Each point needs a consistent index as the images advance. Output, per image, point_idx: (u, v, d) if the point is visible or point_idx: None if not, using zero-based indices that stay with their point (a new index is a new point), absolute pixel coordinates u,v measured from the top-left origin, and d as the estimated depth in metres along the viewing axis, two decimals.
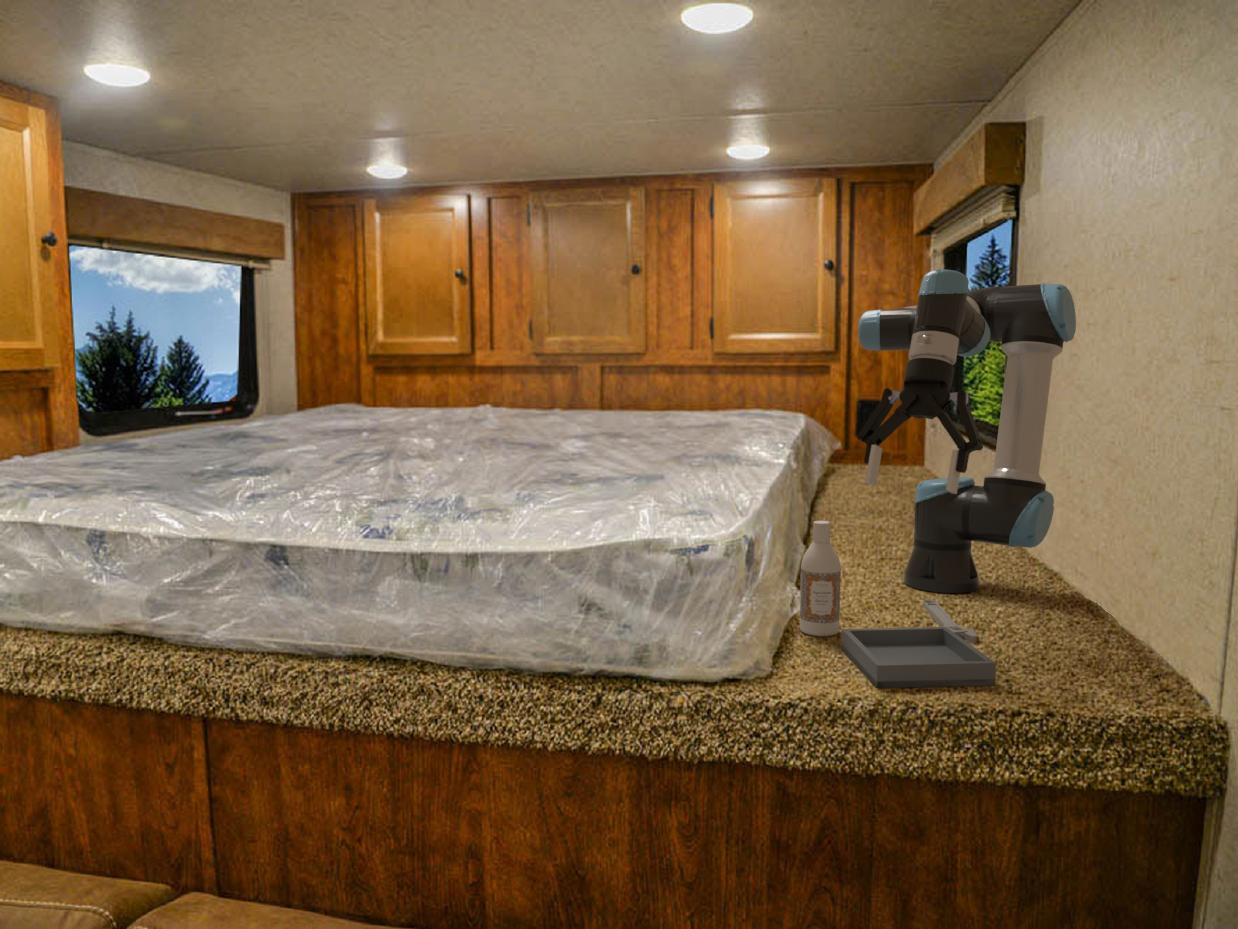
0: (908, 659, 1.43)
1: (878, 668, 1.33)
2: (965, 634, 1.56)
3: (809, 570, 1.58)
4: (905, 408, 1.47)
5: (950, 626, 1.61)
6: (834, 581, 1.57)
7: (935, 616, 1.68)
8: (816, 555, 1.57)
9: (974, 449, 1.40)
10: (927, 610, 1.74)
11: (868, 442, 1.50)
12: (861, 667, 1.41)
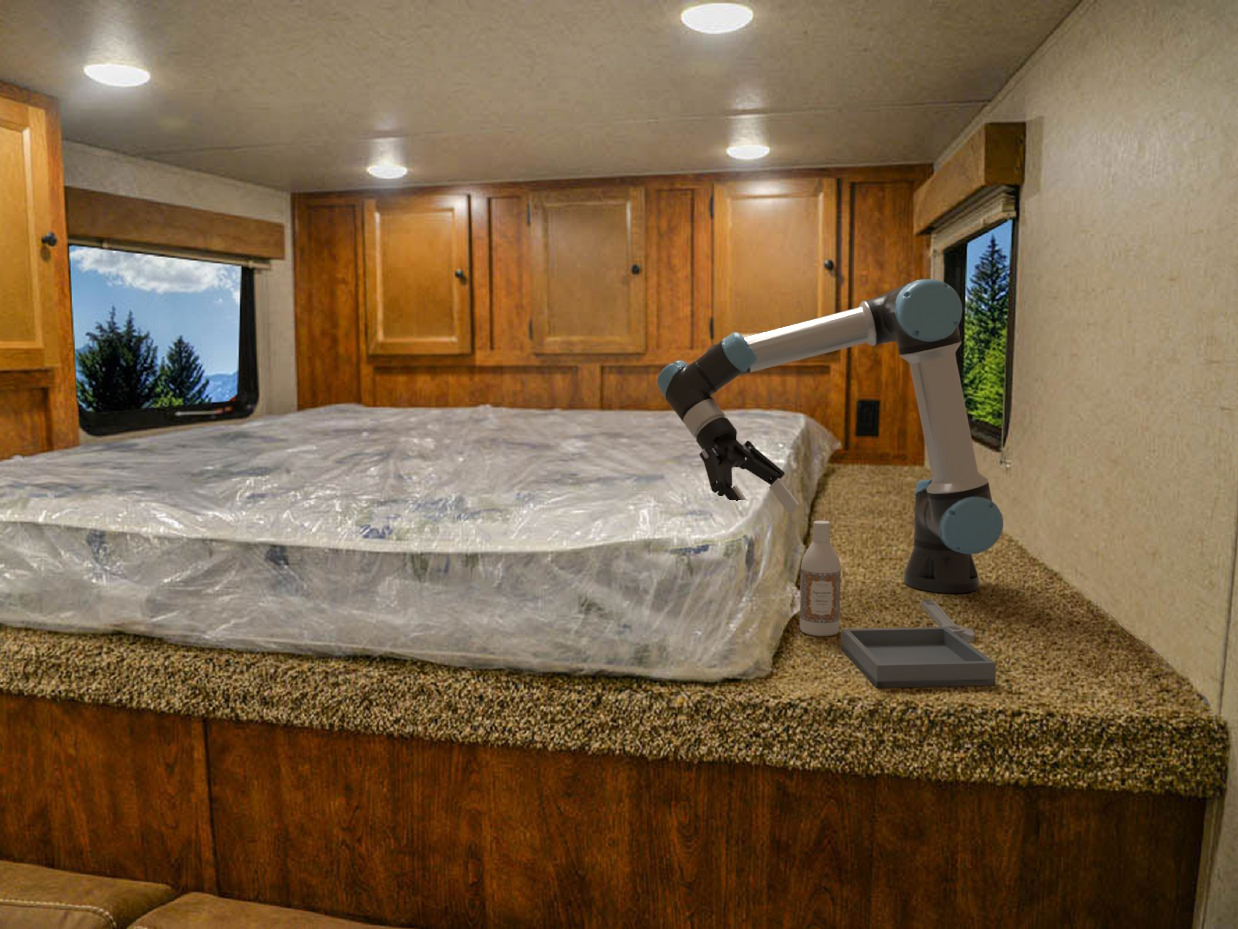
0: (908, 659, 1.43)
1: (878, 668, 1.33)
2: (963, 633, 1.56)
3: (809, 570, 1.58)
4: None
5: (948, 625, 1.61)
6: (834, 581, 1.57)
7: (933, 615, 1.68)
8: (816, 554, 1.57)
9: (721, 488, 1.63)
10: (925, 609, 1.74)
11: None
12: (861, 667, 1.41)
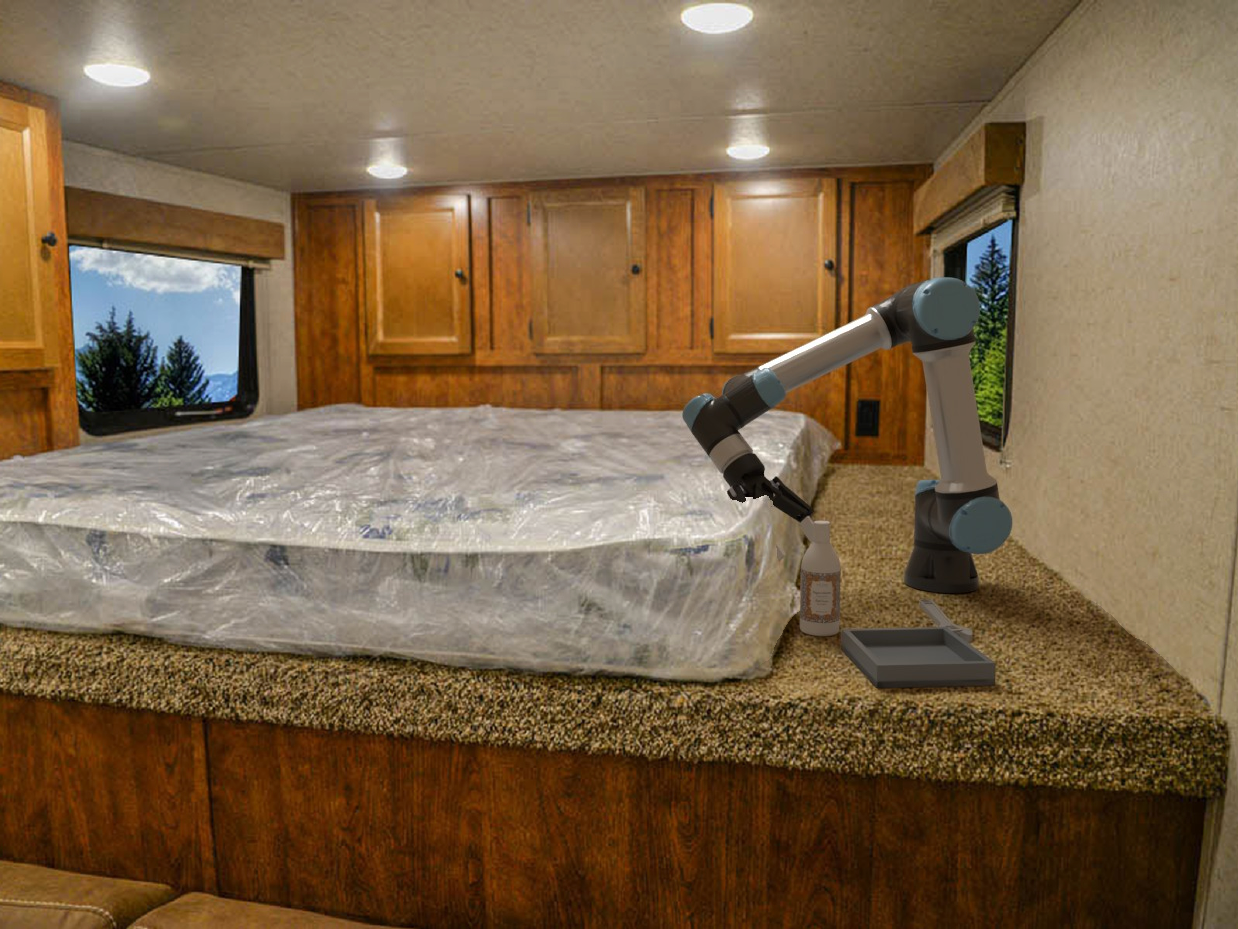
0: (908, 659, 1.43)
1: (878, 668, 1.33)
2: (961, 633, 1.57)
3: (809, 570, 1.58)
4: None
5: (946, 625, 1.61)
6: (834, 581, 1.57)
7: (931, 615, 1.68)
8: (816, 554, 1.57)
9: None
10: (923, 609, 1.74)
11: None
12: (861, 667, 1.41)
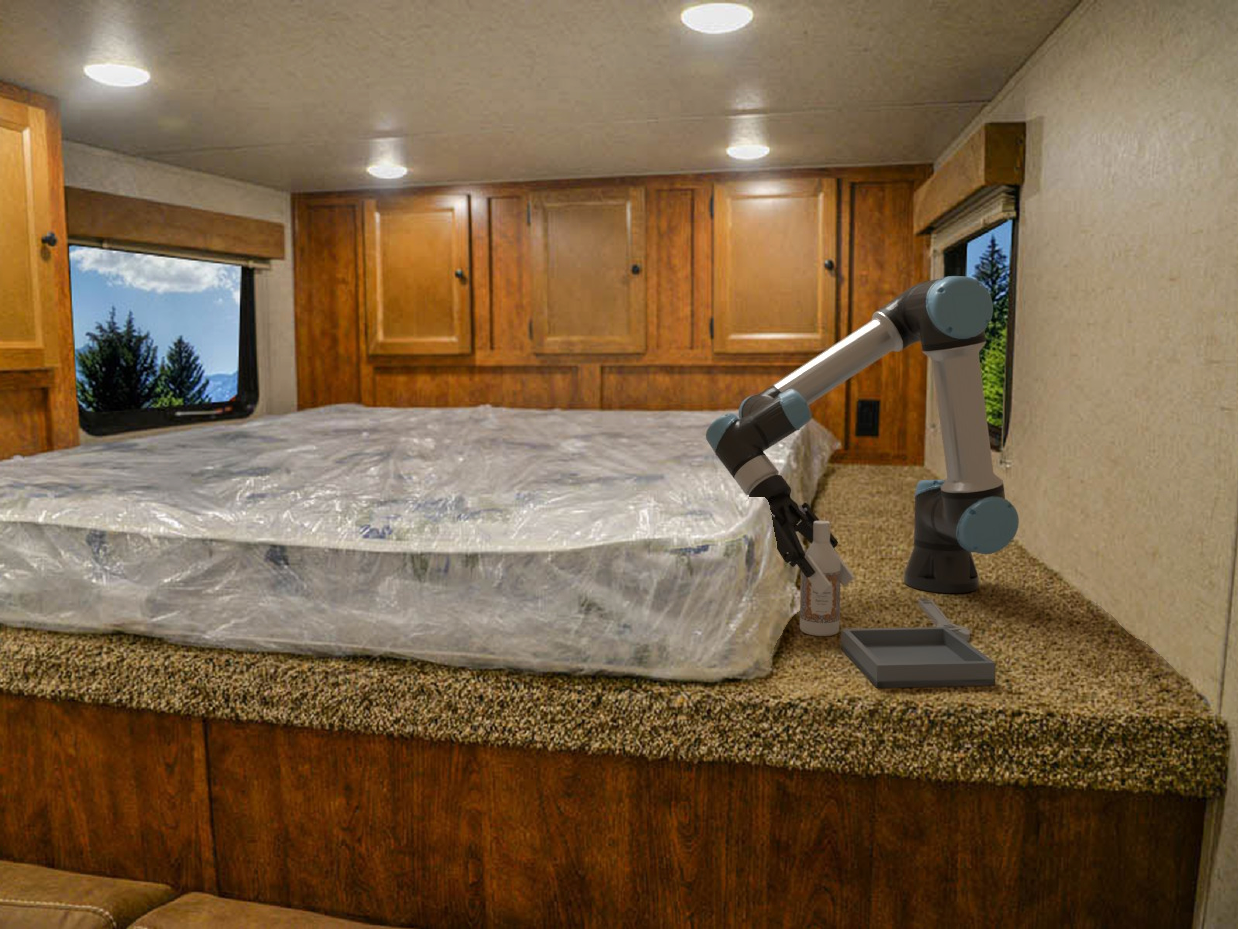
0: (908, 659, 1.43)
1: (878, 668, 1.33)
2: (958, 632, 1.57)
3: None
4: None
5: (944, 624, 1.62)
6: (834, 581, 1.57)
7: (930, 614, 1.69)
8: (816, 554, 1.57)
9: None
10: (922, 608, 1.75)
11: None
12: (861, 667, 1.41)
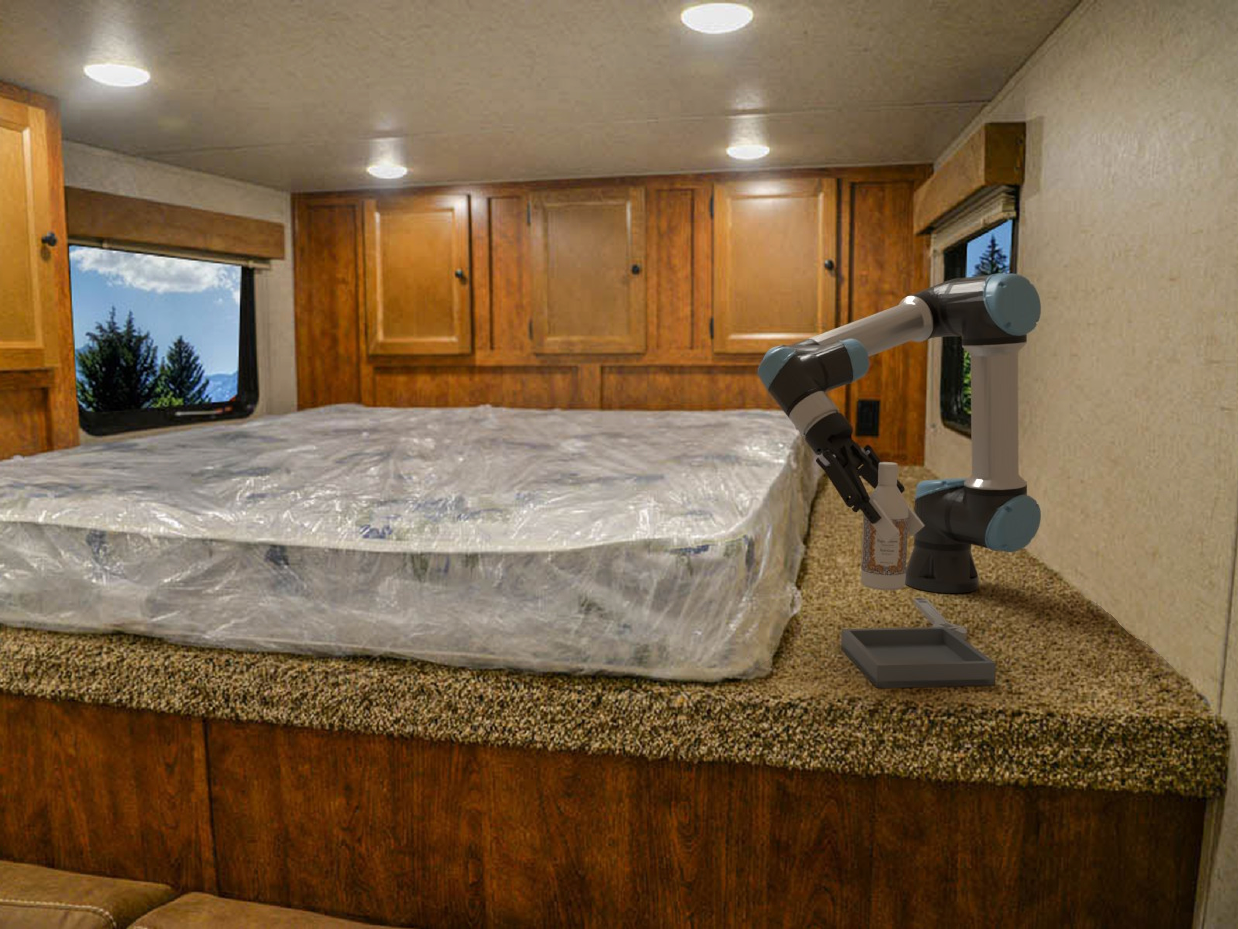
0: (908, 659, 1.43)
1: (878, 668, 1.33)
2: (955, 631, 1.58)
3: None
4: None
5: (941, 623, 1.62)
6: (901, 529, 1.41)
7: (926, 613, 1.69)
8: (882, 499, 1.41)
9: None
10: (918, 607, 1.75)
11: None
12: (861, 667, 1.41)
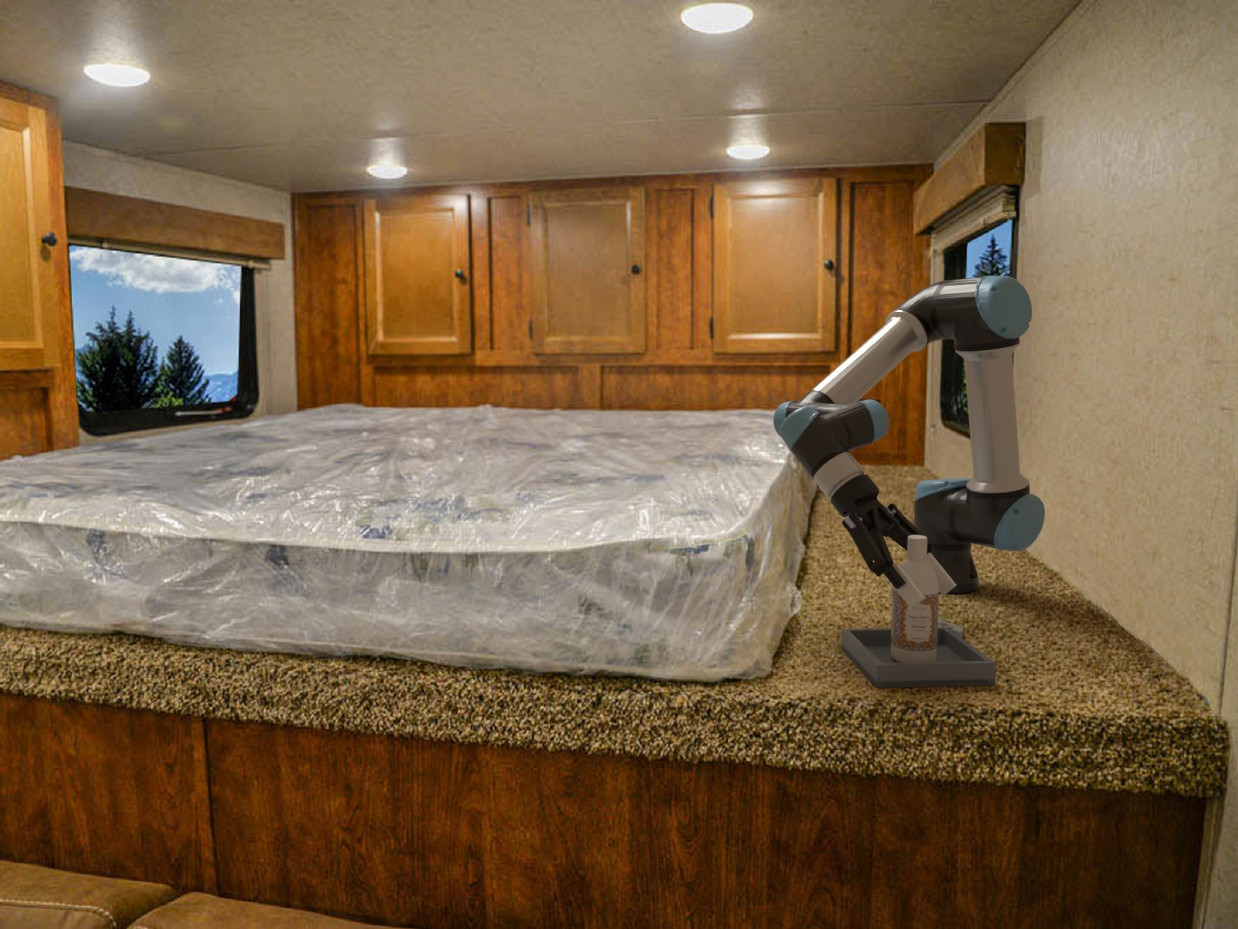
0: None
1: (878, 668, 1.33)
2: (952, 630, 1.59)
3: None
4: None
5: None
6: (933, 604, 1.39)
7: None
8: (912, 574, 1.39)
9: (881, 567, 1.37)
10: None
11: None
12: (861, 667, 1.41)
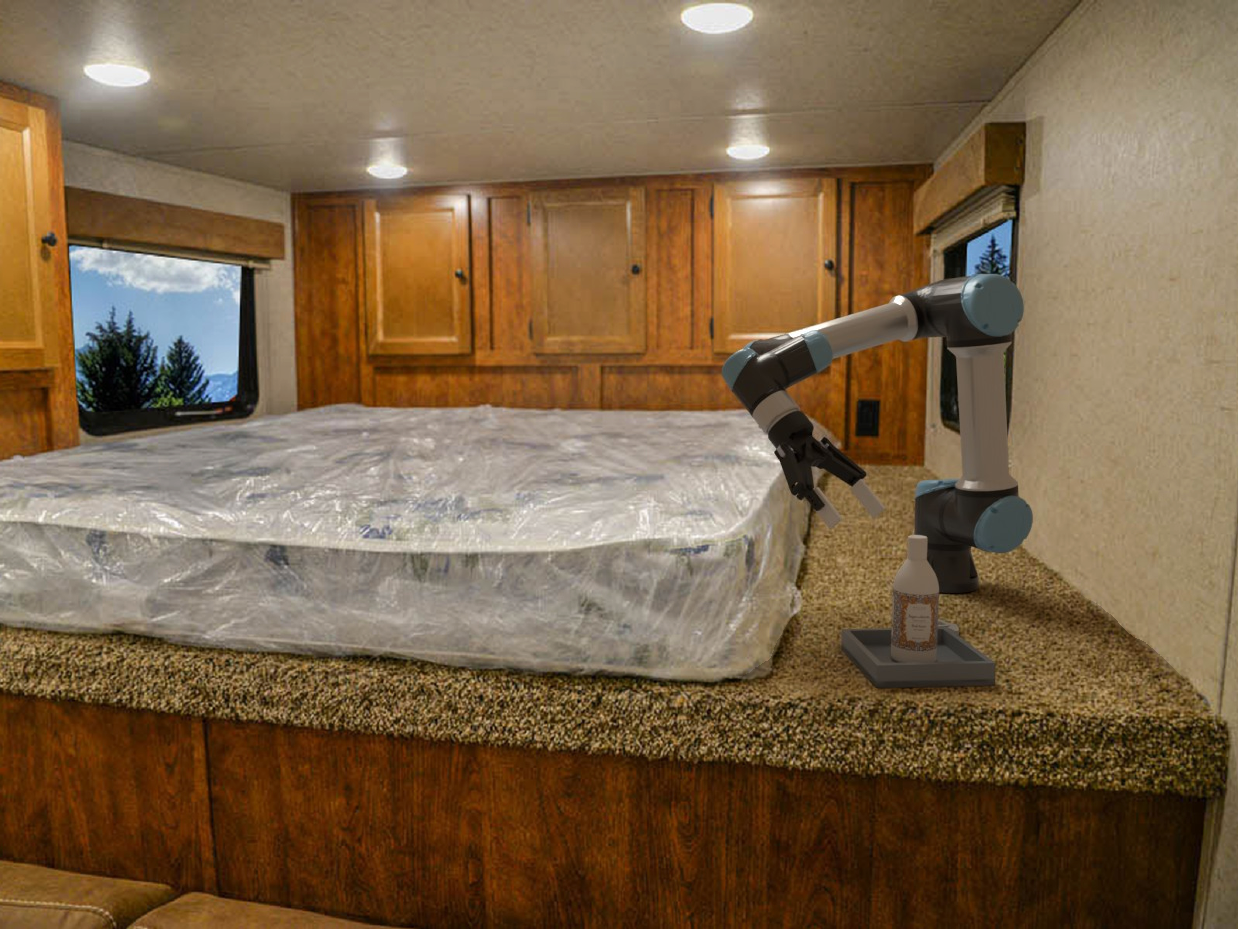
0: None
1: (878, 668, 1.33)
2: (948, 628, 1.59)
3: (905, 591, 1.39)
4: None
5: None
6: (933, 604, 1.39)
7: None
8: (912, 574, 1.39)
9: (801, 491, 1.44)
10: None
11: (853, 486, 1.57)
12: (861, 667, 1.41)
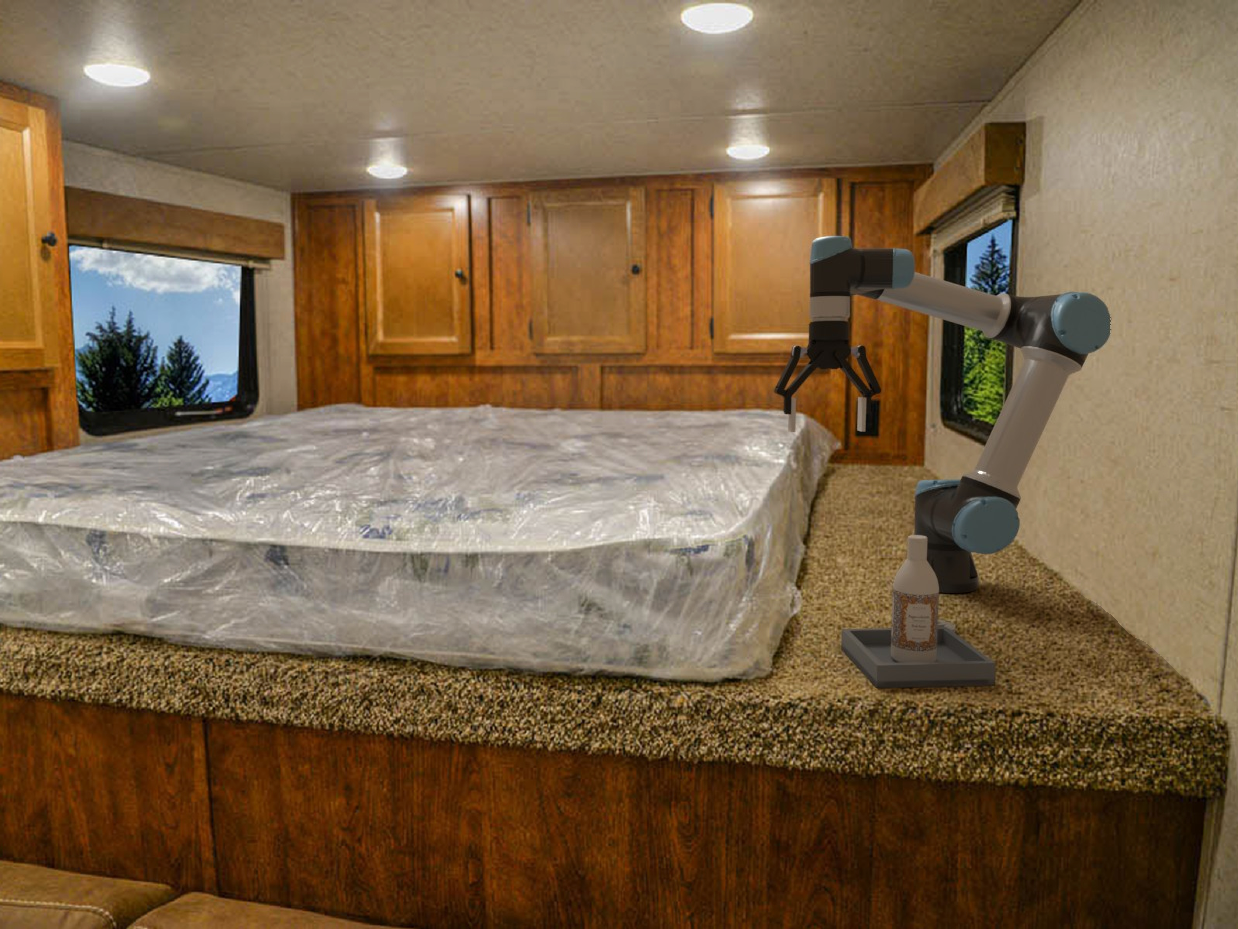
0: None
1: (878, 668, 1.33)
2: None
3: (905, 591, 1.39)
4: None
5: None
6: (933, 604, 1.39)
7: None
8: (912, 574, 1.39)
9: (779, 394, 1.72)
10: None
11: None
12: (861, 667, 1.41)
